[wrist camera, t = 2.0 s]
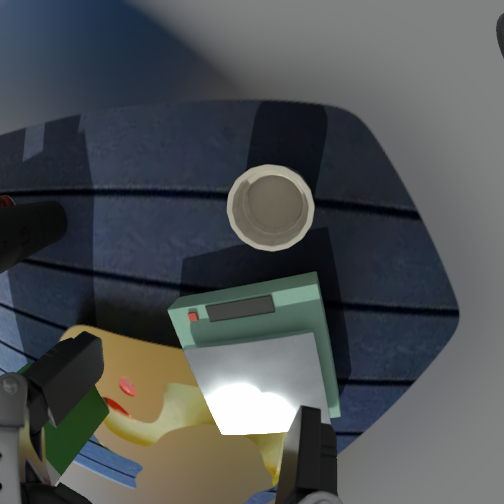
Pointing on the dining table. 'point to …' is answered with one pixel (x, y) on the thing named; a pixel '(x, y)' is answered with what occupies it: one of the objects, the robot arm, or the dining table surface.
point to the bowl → (270, 207)
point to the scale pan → (260, 380)
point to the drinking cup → (28, 230)
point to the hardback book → (71, 432)
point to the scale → (260, 318)
